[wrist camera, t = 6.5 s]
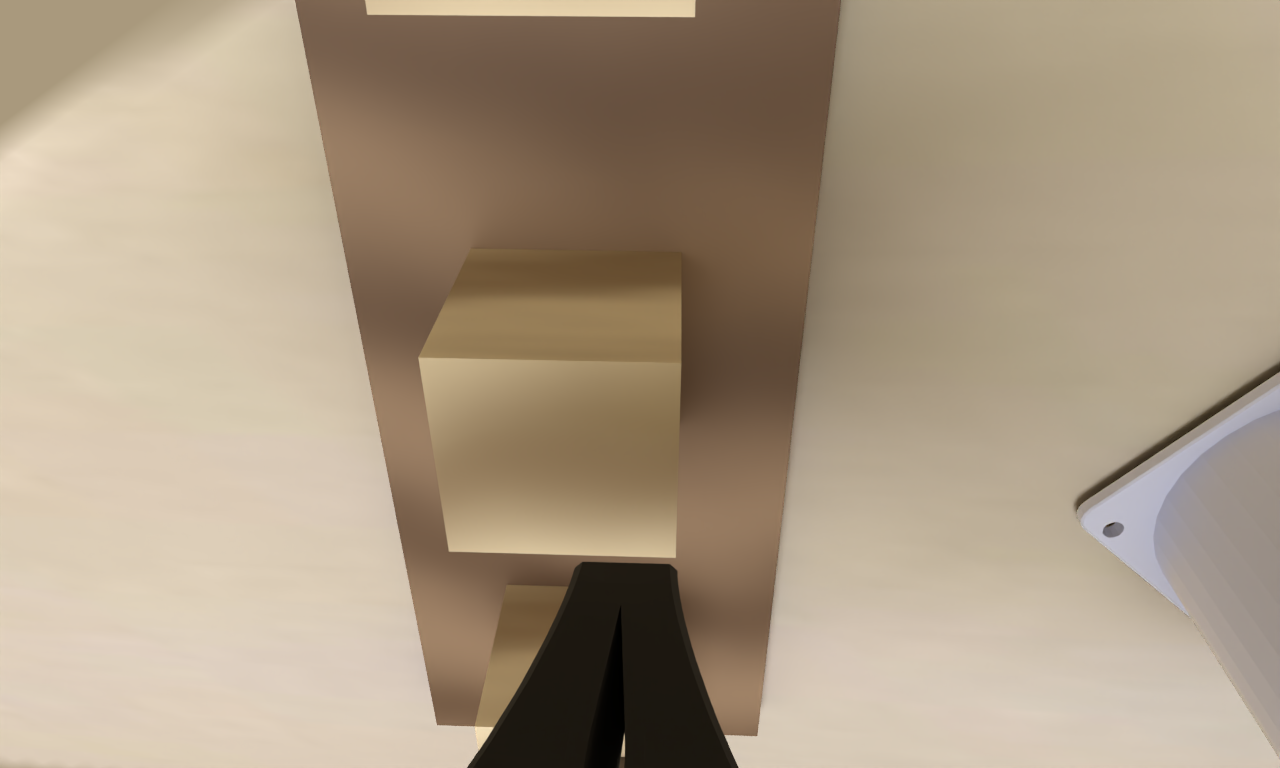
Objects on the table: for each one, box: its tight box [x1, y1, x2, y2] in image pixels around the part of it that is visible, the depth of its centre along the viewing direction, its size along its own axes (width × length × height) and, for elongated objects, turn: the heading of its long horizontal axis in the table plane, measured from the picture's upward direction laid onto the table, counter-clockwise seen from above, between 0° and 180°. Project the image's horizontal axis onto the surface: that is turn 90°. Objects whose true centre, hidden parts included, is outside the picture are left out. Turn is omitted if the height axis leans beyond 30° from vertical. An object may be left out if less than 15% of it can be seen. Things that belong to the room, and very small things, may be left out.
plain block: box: [418, 249, 682, 558], centre depth 18 cm, size 4×4×4 cm
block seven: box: [475, 585, 625, 768], centre depth 24 cm, size 4×4×5 cm
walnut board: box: [295, 0, 841, 736], centre depth 21 cm, size 28×10×1 cm, turn 0°
